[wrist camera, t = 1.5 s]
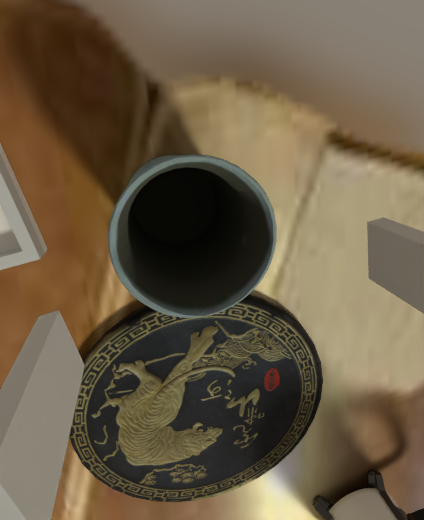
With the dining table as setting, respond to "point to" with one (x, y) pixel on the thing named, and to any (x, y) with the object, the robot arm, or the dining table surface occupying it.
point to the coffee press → (366, 504)
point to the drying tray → (16, 222)
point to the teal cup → (191, 235)
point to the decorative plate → (195, 400)
